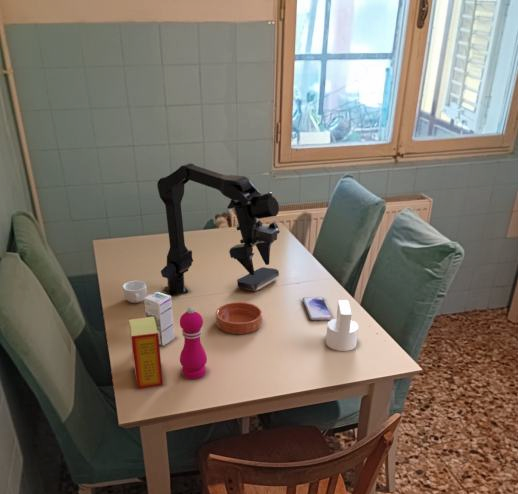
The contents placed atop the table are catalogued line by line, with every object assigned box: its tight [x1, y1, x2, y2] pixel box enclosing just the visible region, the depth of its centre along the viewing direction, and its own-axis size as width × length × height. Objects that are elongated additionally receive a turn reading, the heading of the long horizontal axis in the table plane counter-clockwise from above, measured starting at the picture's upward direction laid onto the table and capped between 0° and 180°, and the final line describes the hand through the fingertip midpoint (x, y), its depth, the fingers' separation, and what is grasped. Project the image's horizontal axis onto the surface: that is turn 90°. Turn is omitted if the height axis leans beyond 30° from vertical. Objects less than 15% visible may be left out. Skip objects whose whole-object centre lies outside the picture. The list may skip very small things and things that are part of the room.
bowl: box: [215, 301, 263, 335], centre depth 177 cm, size 14×14×4 cm
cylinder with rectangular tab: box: [325, 299, 359, 352], centre depth 166 cm, size 9×9×12 cm
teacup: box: [122, 280, 148, 304], centre depth 188 cm, size 10×8×5 cm
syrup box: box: [143, 290, 176, 347], centre depth 165 cm, size 6×6×14 cm
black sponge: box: [236, 266, 280, 292], centre depth 202 cm, size 16×8×4 cm, turn 143°
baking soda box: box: [128, 316, 164, 389], centre depth 148 cm, size 10×6×16 cm
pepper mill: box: [179, 306, 208, 380], centre depth 149 cm, size 7×7×20 cm
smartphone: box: [302, 296, 333, 321], centre depth 186 cm, size 7×1×15 cm
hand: (260, 269), depth 175 cm, fingers open, 9 cm apart
